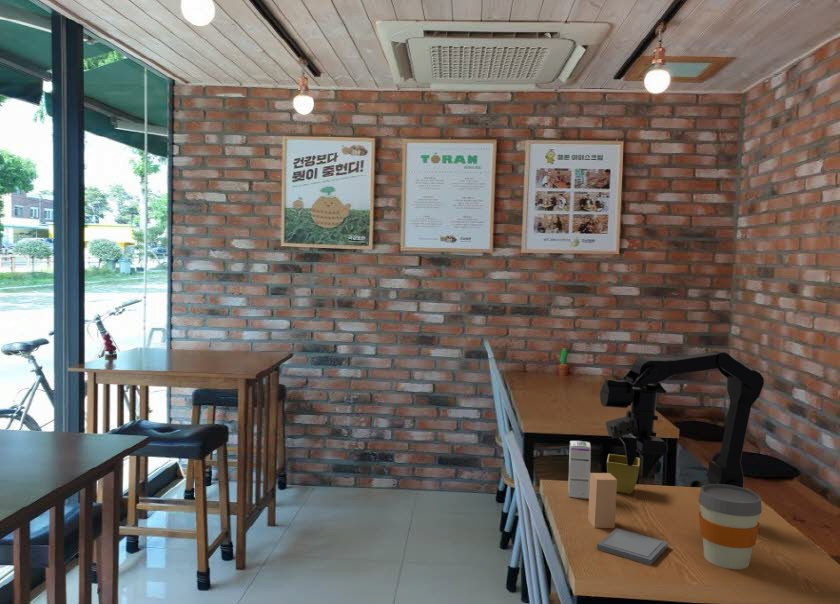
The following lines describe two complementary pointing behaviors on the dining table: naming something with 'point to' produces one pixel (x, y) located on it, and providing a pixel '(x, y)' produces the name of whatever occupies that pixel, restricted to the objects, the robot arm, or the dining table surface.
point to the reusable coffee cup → (729, 524)
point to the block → (602, 500)
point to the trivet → (633, 546)
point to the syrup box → (579, 469)
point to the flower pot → (623, 472)
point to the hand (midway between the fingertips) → (636, 471)
